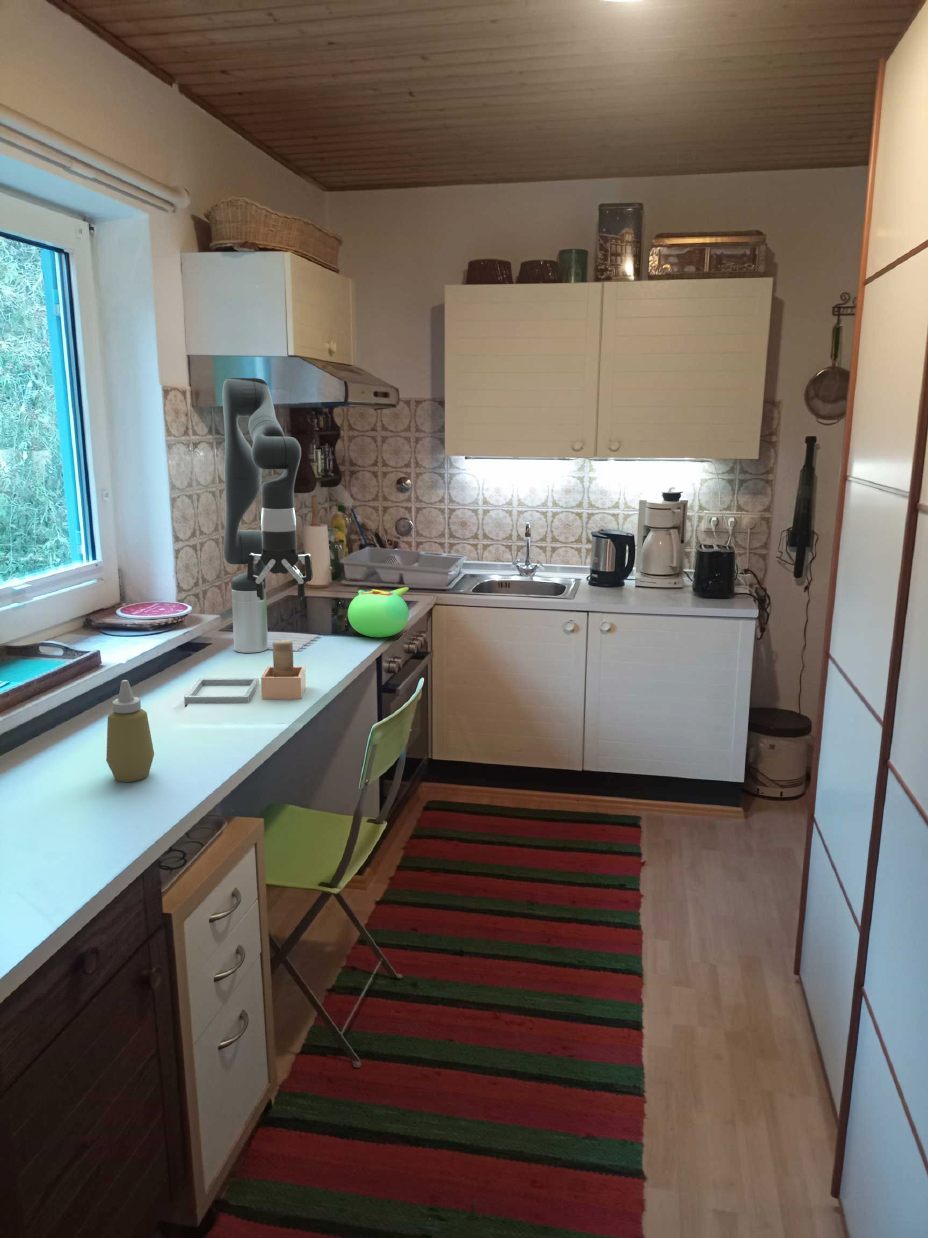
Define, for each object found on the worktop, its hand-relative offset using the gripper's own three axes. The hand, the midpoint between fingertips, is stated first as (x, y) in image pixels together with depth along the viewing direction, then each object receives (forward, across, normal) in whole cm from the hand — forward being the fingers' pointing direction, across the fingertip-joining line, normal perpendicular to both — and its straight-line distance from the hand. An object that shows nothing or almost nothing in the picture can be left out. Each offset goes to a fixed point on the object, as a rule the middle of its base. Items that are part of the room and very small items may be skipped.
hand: (281, 599), depth 196 cm
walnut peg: (+22, 0, 0) cm, 22 cm away
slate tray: (+23, +14, 0) cm, 27 cm away
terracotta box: (+23, 0, 0) cm, 23 cm away
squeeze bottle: (+23, +21, +45) cm, 55 cm away
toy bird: (+23, -20, -57) cm, 65 cm away
